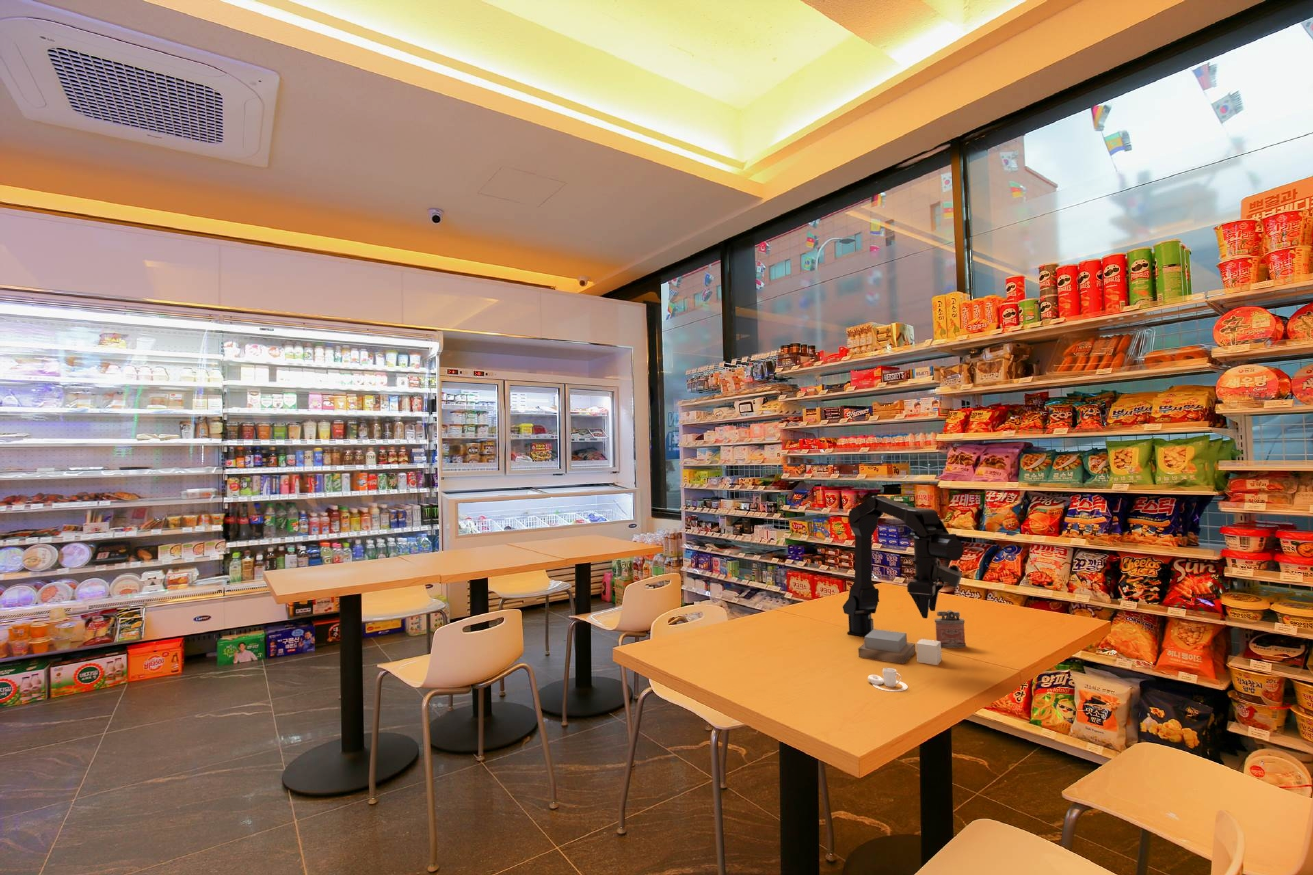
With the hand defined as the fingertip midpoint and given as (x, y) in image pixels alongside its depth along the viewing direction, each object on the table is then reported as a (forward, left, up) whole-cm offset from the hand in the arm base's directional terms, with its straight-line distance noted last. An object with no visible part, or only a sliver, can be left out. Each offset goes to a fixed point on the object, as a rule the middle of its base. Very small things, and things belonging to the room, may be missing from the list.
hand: (929, 614), depth 165 cm
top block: (-12, -1, -10) cm, 15 cm away
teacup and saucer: (-5, -22, -13) cm, 26 cm away
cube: (0, -1, -12) cm, 12 cm away
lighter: (+2, +16, -12) cm, 21 cm away
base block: (-11, -1, -13) cm, 17 cm away
